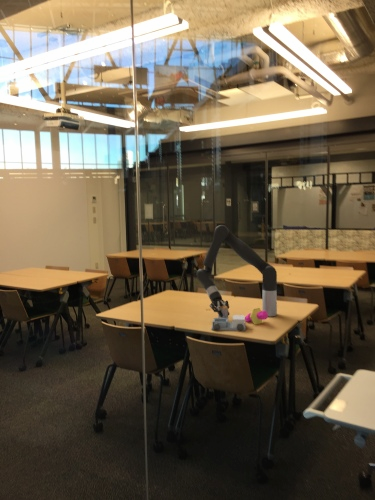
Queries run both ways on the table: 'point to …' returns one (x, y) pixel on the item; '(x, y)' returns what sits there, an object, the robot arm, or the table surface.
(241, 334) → the table surface
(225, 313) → the engine block
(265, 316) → the toy
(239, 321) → the chassis
